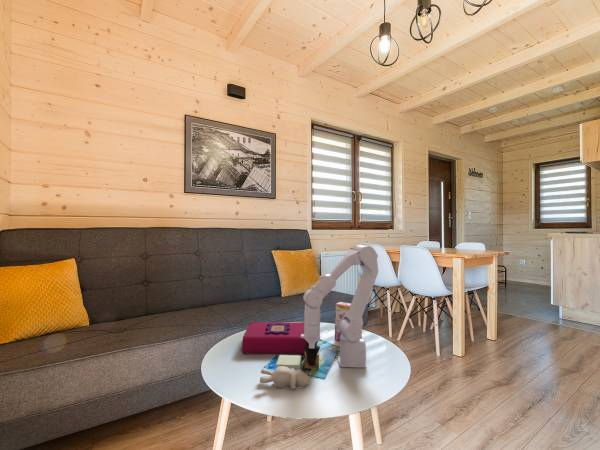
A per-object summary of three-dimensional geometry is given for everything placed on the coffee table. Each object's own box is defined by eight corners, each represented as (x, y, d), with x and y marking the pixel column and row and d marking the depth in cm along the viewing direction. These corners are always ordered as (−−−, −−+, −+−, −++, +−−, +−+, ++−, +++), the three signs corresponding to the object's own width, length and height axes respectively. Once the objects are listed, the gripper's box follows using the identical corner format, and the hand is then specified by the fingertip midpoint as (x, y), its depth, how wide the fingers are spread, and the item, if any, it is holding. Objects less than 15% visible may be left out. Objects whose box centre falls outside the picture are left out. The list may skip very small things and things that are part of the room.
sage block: (301, 365, 114) (301, 355, 114) (299, 375, 106) (299, 365, 106) (279, 364, 115) (279, 354, 115) (276, 374, 107) (276, 364, 107)
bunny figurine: (309, 379, 95) (260, 374, 94) (307, 395, 95) (258, 391, 94) (306, 365, 104) (262, 360, 103) (304, 380, 104) (260, 376, 103)
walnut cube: (318, 363, 115) (318, 349, 115) (318, 369, 110) (318, 355, 110) (305, 362, 116) (305, 349, 116) (304, 368, 111) (304, 354, 111)
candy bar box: (334, 340, 138) (334, 303, 138) (338, 337, 143) (339, 301, 143) (357, 345, 132) (358, 307, 132) (362, 342, 136) (362, 304, 137)
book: (313, 356, 122) (313, 336, 122) (241, 355, 122) (241, 336, 122) (310, 337, 143) (310, 320, 143) (249, 336, 143) (250, 320, 143)
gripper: (301, 317, 121) (301, 352, 120) (300, 329, 106) (299, 369, 106) (320, 317, 120) (319, 352, 120) (321, 330, 106) (320, 370, 106)
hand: (311, 360), depth 113 cm, fingers open, 7 cm apart
